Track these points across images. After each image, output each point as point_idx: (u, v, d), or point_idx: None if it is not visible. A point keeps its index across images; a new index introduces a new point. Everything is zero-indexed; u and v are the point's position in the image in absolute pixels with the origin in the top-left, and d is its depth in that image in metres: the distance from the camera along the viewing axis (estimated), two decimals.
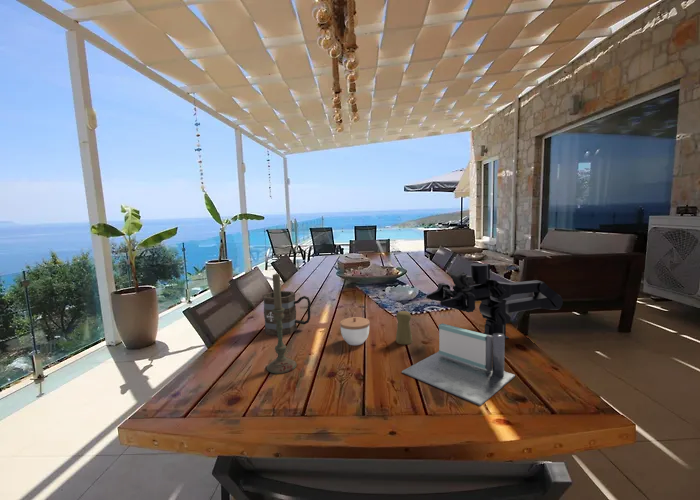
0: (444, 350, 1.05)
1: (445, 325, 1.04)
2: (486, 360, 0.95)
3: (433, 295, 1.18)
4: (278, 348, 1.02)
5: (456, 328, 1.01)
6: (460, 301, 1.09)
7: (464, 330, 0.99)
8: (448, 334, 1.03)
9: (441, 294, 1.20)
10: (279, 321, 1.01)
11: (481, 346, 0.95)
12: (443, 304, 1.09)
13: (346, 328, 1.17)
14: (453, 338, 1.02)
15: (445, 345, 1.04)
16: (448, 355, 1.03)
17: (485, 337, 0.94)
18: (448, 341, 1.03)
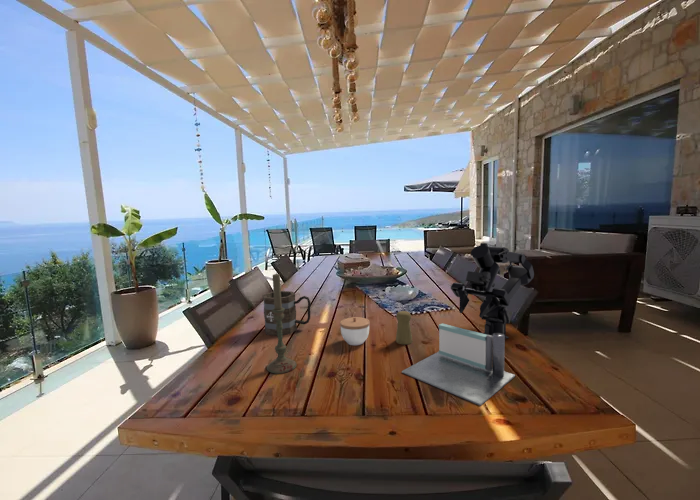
0: (444, 350, 1.05)
1: (445, 325, 1.04)
2: (486, 360, 0.95)
3: (463, 305, 1.12)
4: (278, 348, 1.02)
5: (456, 328, 1.01)
6: (491, 300, 1.07)
7: (464, 330, 0.99)
8: (448, 334, 1.03)
9: (465, 296, 1.14)
10: (279, 321, 1.01)
11: (481, 346, 0.95)
12: (482, 315, 1.06)
13: (346, 328, 1.17)
14: (453, 338, 1.02)
15: (445, 345, 1.04)
16: (448, 355, 1.03)
17: (485, 337, 0.94)
18: (448, 341, 1.03)
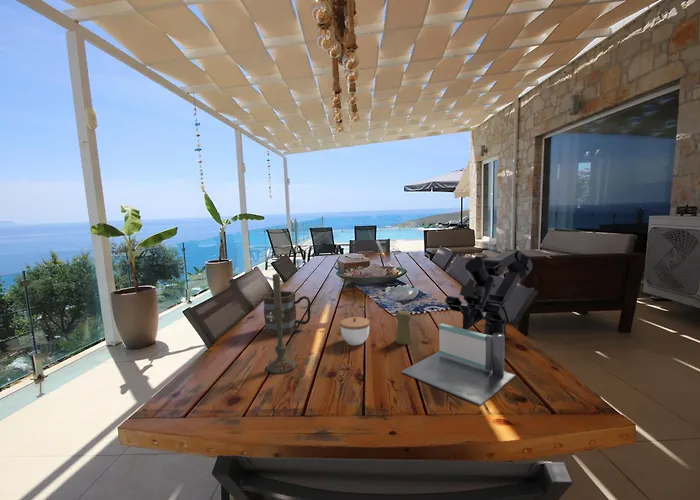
0: (444, 350, 1.05)
1: (445, 325, 1.04)
2: (486, 360, 0.95)
3: None
4: (278, 348, 1.02)
5: (456, 328, 1.01)
6: (476, 313, 1.07)
7: (464, 330, 0.99)
8: (448, 334, 1.03)
9: (469, 312, 1.09)
10: (279, 321, 1.01)
11: (481, 346, 0.95)
12: (467, 328, 1.06)
13: (346, 328, 1.17)
14: (453, 338, 1.02)
15: (445, 345, 1.04)
16: (448, 355, 1.03)
17: (485, 337, 0.94)
18: (448, 341, 1.03)
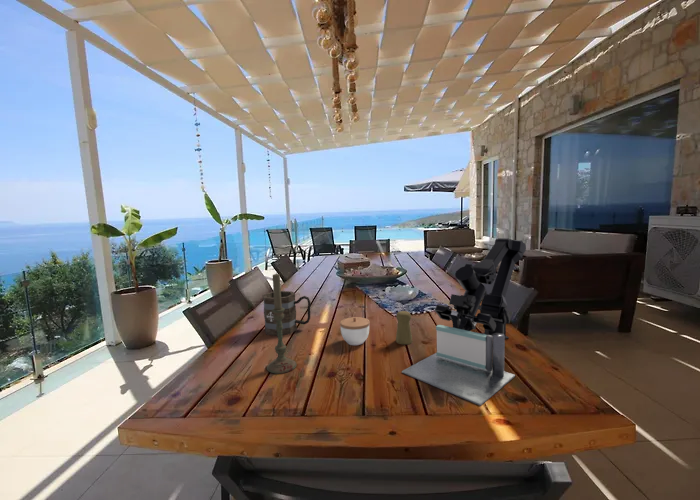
0: (442, 352, 1.04)
1: (443, 326, 1.03)
2: (486, 360, 0.95)
3: None
4: (278, 348, 1.02)
5: (454, 329, 1.01)
6: (466, 323, 1.03)
7: (463, 331, 0.99)
8: (446, 335, 1.02)
9: (459, 322, 1.05)
10: (279, 321, 1.01)
11: (481, 346, 0.95)
12: None
13: (346, 328, 1.17)
14: (451, 339, 1.01)
15: (443, 346, 1.03)
16: (446, 356, 1.03)
17: (485, 337, 0.94)
18: (446, 342, 1.02)
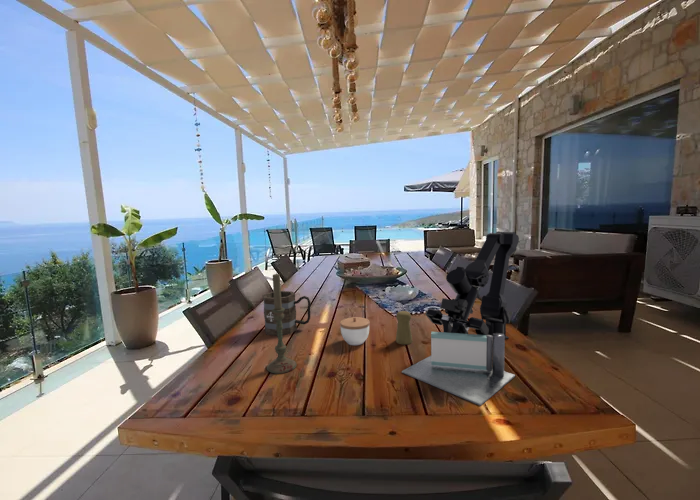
0: (437, 360, 0.98)
1: (437, 333, 0.98)
2: (486, 360, 0.94)
3: None
4: (278, 348, 1.02)
5: (451, 334, 0.97)
6: (459, 328, 1.00)
7: (461, 334, 0.96)
8: (442, 342, 0.97)
9: (450, 327, 1.02)
10: (279, 321, 1.01)
11: (481, 348, 0.94)
12: None
13: (346, 328, 1.17)
14: (448, 345, 0.97)
15: (439, 354, 0.98)
16: (443, 364, 0.98)
17: (486, 338, 0.93)
18: (443, 349, 0.97)
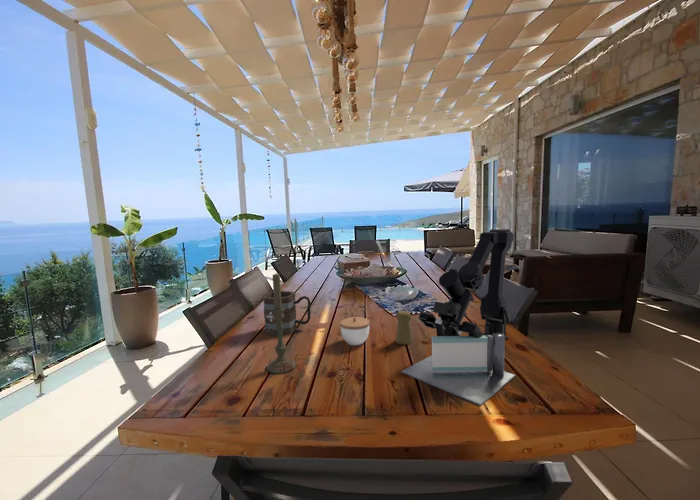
0: (439, 365, 0.95)
1: (439, 337, 0.94)
2: (487, 360, 0.94)
3: None
4: (278, 348, 1.02)
5: (453, 337, 0.94)
6: (451, 332, 0.98)
7: (462, 337, 0.94)
8: (444, 346, 0.94)
9: (444, 331, 0.99)
10: (279, 321, 1.01)
11: (482, 348, 0.94)
12: None
13: (346, 328, 1.17)
14: (450, 349, 0.94)
15: (440, 359, 0.95)
16: (445, 369, 0.95)
17: (487, 338, 0.93)
18: (444, 354, 0.94)
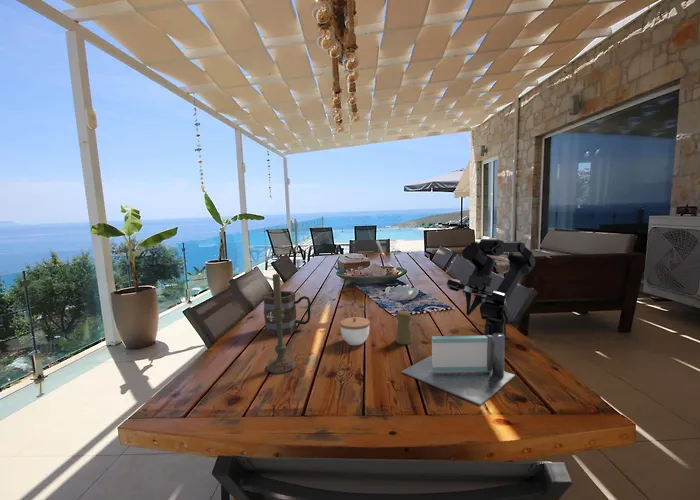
0: (439, 365, 0.95)
1: (439, 337, 0.94)
2: (487, 360, 0.94)
3: (469, 307, 1.10)
4: (278, 348, 1.02)
5: (453, 337, 0.94)
6: None
7: (462, 337, 0.94)
8: (444, 346, 0.94)
9: (471, 297, 1.11)
10: (279, 321, 1.01)
11: (482, 348, 0.94)
12: (470, 313, 1.10)
13: (346, 328, 1.17)
14: (450, 349, 0.94)
15: (440, 359, 0.95)
16: (445, 369, 0.95)
17: (487, 338, 0.93)
18: (444, 354, 0.94)
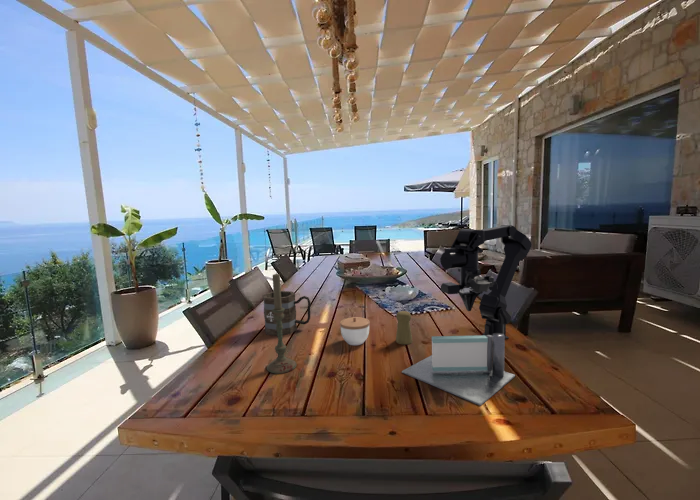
0: (439, 365, 0.95)
1: (439, 337, 0.94)
2: (487, 360, 0.94)
3: None
4: (278, 348, 1.02)
5: (453, 337, 0.94)
6: None
7: (462, 337, 0.94)
8: (444, 346, 0.94)
9: None
10: (279, 321, 1.01)
11: (482, 348, 0.94)
12: None
13: (346, 328, 1.17)
14: (450, 349, 0.94)
15: (440, 359, 0.95)
16: (445, 369, 0.95)
17: (487, 338, 0.93)
18: (444, 354, 0.94)
